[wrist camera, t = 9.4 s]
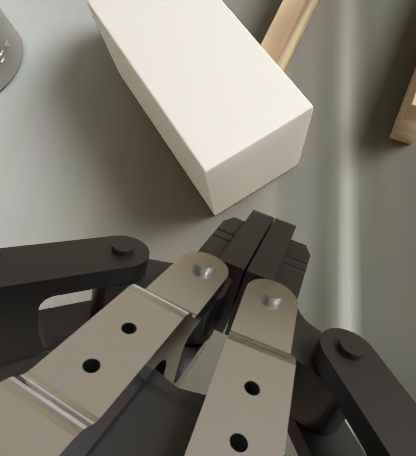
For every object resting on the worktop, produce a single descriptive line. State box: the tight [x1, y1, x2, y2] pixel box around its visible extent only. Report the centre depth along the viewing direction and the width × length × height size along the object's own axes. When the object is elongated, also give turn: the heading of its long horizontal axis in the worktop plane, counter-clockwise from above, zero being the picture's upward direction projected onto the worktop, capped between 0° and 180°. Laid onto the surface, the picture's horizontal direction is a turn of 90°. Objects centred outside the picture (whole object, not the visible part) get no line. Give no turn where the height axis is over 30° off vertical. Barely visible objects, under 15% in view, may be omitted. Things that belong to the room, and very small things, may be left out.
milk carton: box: [87, 0, 313, 215], centre depth 27 cm, size 7×7×19 cm
